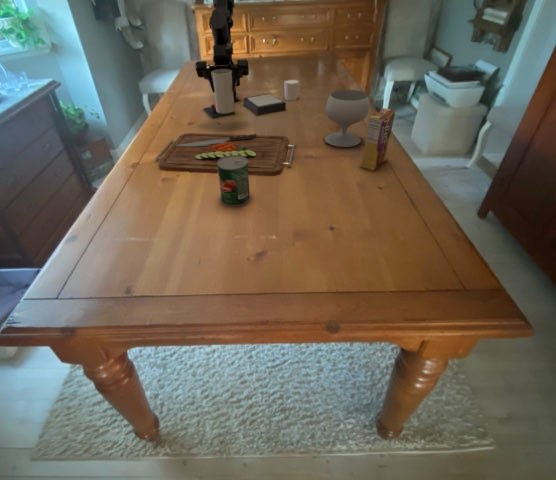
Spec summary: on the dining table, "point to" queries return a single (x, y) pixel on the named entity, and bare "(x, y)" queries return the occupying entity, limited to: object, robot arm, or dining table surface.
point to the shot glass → (291, 89)
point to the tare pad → (214, 114)
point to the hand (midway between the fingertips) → (223, 91)
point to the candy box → (377, 138)
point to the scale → (264, 104)
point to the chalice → (346, 115)
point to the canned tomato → (233, 180)
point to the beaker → (223, 90)
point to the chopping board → (226, 152)
